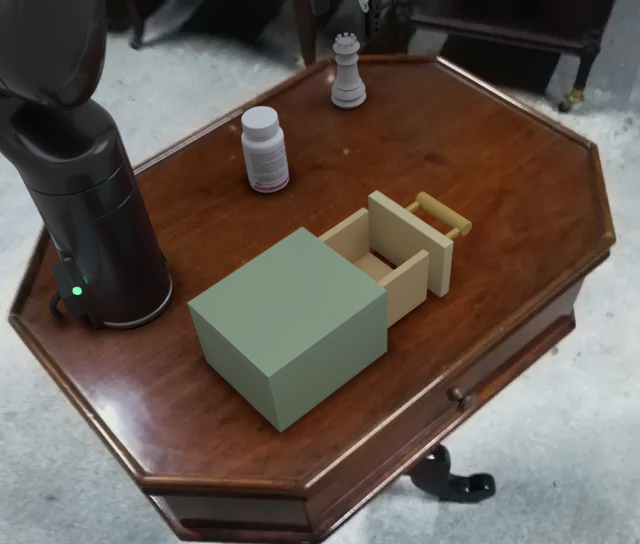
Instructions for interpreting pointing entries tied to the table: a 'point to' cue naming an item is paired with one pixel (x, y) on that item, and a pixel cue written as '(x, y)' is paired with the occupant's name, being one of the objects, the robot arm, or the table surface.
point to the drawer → (400, 248)
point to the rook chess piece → (347, 74)
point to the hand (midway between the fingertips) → (345, 26)
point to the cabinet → (291, 326)
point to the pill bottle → (264, 149)
